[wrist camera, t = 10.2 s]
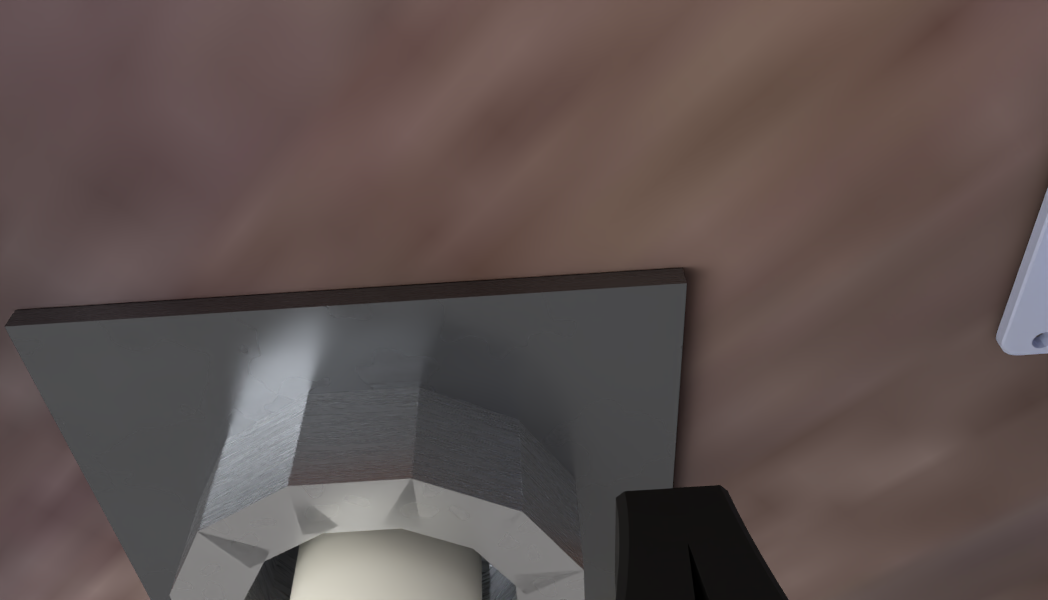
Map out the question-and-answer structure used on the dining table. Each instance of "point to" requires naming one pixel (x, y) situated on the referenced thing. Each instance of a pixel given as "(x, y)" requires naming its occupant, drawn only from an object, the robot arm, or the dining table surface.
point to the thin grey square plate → (370, 423)
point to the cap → (385, 567)
